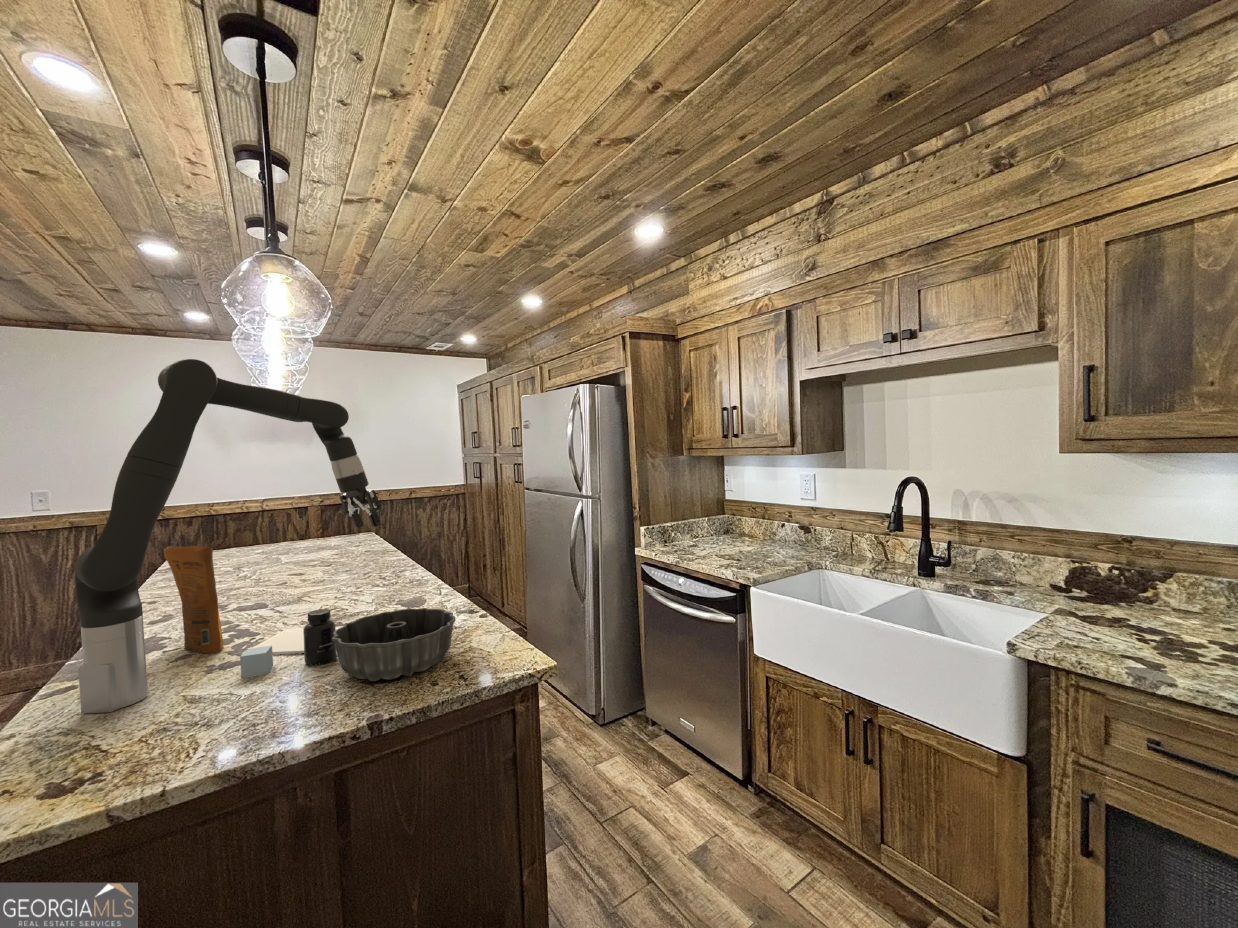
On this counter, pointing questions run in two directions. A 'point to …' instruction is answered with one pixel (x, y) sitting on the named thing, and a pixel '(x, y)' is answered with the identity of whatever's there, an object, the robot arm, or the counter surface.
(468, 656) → the counter surface
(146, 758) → the counter surface
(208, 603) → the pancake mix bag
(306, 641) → the supplement bottle
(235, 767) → the counter surface
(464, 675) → the counter surface
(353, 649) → the bundt pan
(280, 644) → the mat
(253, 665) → the blue block
